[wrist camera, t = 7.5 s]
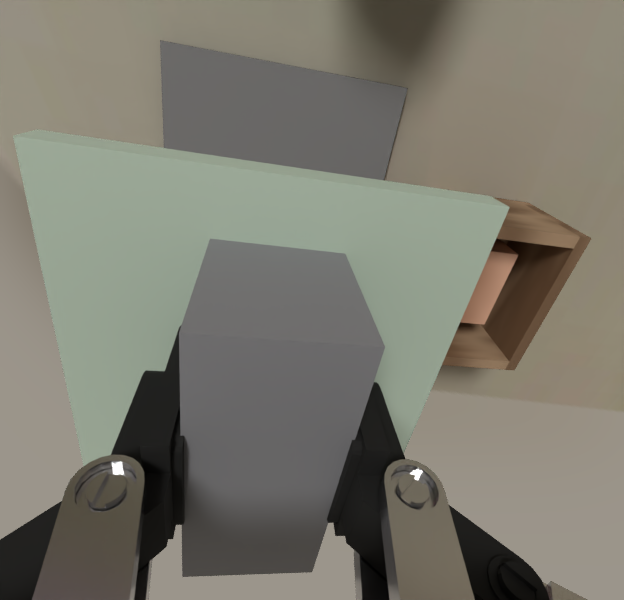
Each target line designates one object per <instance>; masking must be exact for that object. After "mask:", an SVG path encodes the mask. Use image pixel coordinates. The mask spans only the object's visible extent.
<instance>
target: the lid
mask: <svg viewBox="0 0 624 600" xmlns="http://www.w3.org/2000/svg"><path fill="white" fill-rule="evenodd" d="M13 138H14V143H15V147H16V152H17V157H18V161H19V166H20V171H21V175H22V180H23V185H24V189H25V194H26V199H27V203H28V208H29V213H30V217H31V222H32V227H33V231H34V236H35V241H36V245H37V250H38V255H39V259H40V264H41V269H42V273H43V278H44V283H45V287H46V292H47V296H48V301H49V306H50V311H51V315H52V320H53V325H54V329H55V334H56V339H57V343H58V348H59V353H60V357H61V362H62V367H63V371H64V376H65V381H66V385H67V390H68V395H69V399H70V404H71V409H72V413H73V418H74V422H75V427H76V432H77V437H78V441H79V446H80V451H81V455H82V460H83V464H84V466H85V465H86V464H88V463H89V462H91V461H93V460H96V459H98V458H100V457H104V456H108V455H111V453H112V450H113V448H114V445H115V443H116V440H117V438H118V435H119V433H120V430H121V428H122V425H123V422H124V420H125V417H126V415H127V412H128V410H129V407H130V405H131V402H132V400H133V397H134V395H135V392H136V390H137V387H138V385H139V382H140V380H141V377H142V375H143V373H144V372H145V371H146V370H148V371H165V369H166V366H167V363H168V360H169V357H170V354H171V351H172V348H173V345H174V342H175V339H176V335H177V332H178V329H179V327H180V326H181V328H180V331H179V368H180V436H184V498H185V522H184V525H182V567H183V568H182V571H183V577H188V576H215V575H216V576H217V575H245V574H273V573H301V572H312V571H313V567H314V564H315V561H316V558H317V555H318V552H319V549H320V546H321V543H322V540H323V537H324V534H325V531H326V527H327V524H328V521H327V517H328V514H329V511H330V507H331V504H332V501H333V498H334V495H335V492H336V489H337V486H338V482H339V479H340V476H341V473H342V470H343V467H344V464H345V461H346V457H347V454H348V451H349V448H350V445H351V442H352V440H355V438H356V435H357V432H358V429H359V426H360V423H361V420H362V417H363V414H364V411H365V408H366V405H367V402H368V398H369V395H370V392H371V389H372V386H373V383H374V382H377V383H378V384H379V386H380V388H381V391H382V393H383V396H384V399H385V402H386V405H387V408H388V411H389V414H390V416H391V419H392V422H393V425H394V428H395V431H396V434H397V436H398V439H399V442H400V445H401V448H402V451H403V454H404V451H405V449H406V447H407V444H408V442H409V440H410V437H411V435H412V433H413V430H414V428H415V426H416V423H417V421H418V419H419V417H420V414H421V412H422V410H423V407H424V405H425V402H426V400H427V398H428V396H429V393H430V391H431V389H432V386H433V384H434V382H435V379H436V377H437V375H438V372H439V370H440V368H441V366H442V363H443V361H444V359H445V356H446V354H447V352H448V349H449V347H450V345H451V342H452V340H453V338H454V335H455V333H456V331H457V328H458V326H459V324H460V321H461V319H462V317H463V315H464V312H465V310H466V308H467V305H468V303H469V301H470V298H471V296H472V294H473V291H474V289H475V287H476V284H477V282H478V280H479V277H480V275H481V273H482V270H483V268H484V266H485V264H486V261H487V259H488V257H489V254H490V252H491V250H492V247H493V245H494V243H495V240H496V238H497V236H498V233H499V231H500V229H501V226H502V224H503V222H504V219H505V217H506V215H507V212H508V210H509V208H510V207H509V206H507V205H505V204H503V203H502V202H500V201H498V200H496V199H495V198H493V197H491V196H486V195H479V194H472V193H465V192H459V191H452V190H445V189H438V188H431V187H425V186H418V185H411V184H404V183H397V182H391V181H384V180H377V179H370V178H364V177H357V176H350V175H343V174H336V173H330V172H323V171H316V170H309V169H302V168H296V167H289V166H282V165H275V164H269V163H262V162H255V161H248V160H241V159H235V158H228V157H221V156H214V155H207V154H201V153H194V152H187V151H180V150H174V149H167V148H160V147H153V146H146V145H140V144H133V143H126V142H119V141H113V140H106V139H99V138H92V137H85V136H79V135H72V134H65V133H58V132H51V131H45V130H38V129H37V130H34V131H30V132H26V133H22V134H19V135H15V136H13Z"/></svg>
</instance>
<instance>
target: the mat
mask: <svg viewBox="0 0 624 600" xmlns="http://www.w3.org/2000/svg"><path fill="white" fill-rule="evenodd" d="M160 48H161V77H162V106H163V135H164V148H167V149H174V150H180V151H187V152H194V153H201V154H207V155H214V156H221V157H228V158H235V159H241V160H248V161H255V162H262V163H269V164H275V165H282V166H289V167H296V168H302V169H309V170H316V171H323V172H330V173H336V174H343V175H350V176H357V177H364V178H370V179H377V180H384V177H385V173H386V170H387V166H388V162H389V158H390V154H391V150H392V147H393V143H394V139H395V135H396V131H397V127H398V123H399V120H400V116H401V112H402V108H403V104H404V100H405V96H406V93H407V89H408V88H404V87H399V86H394V85H389V84H384V83H378V82H373V81H368V80H363V79H358V78H353V77H347V76H342V75H337V74H332V73H327V72H322V71H316V70H311V69H306V68H301V67H296V66H290V65H285V64H280V63H275V62H270V61H265V60H259V59H254V58H249V57H244V56H239V55H233V54H228V53H223V52H218V51H213V50H208V49H202V48H197V47H192V46H187V45H182V44H177V43H171V42H166V41H161V40H160Z"/></svg>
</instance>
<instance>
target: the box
mask: <svg viewBox="0 0 624 600" xmlns="http://www.w3.org/2000/svg"><path fill="white" fill-rule="evenodd" d="M495 199H496V200H498V201H500V202H502V203H503V204H505V205H507V206H509V207H510V208H509V210H508V212H507V215H506V217H505V219H504V222H503V224H502V226H501V229H500V231H499V233H498V236H497V238H496V240H495V243H494V245H493V247H492V250H491V252H490V254H489V257H488V259H487V261H486V264H485V266H484V268H483V270H482V273H481V275H480V277H479V280H478V282H477V284H476V287H475V289H474V291H473V294H472V296H471V298H470V301H469V303H468V305H467V308H466V310H465V312H464V315H463V317H462V319H461V321H460V324H459V326H458V328H457V331H456V333H455V335H454V338H453V340H452V342H451V345H450V347H449V349H448V352H447V354H446V356H445V359H444V361H443V363H442V365H450V366H463V367H477V368H490V369H504V370H515V368H516V367H517V365H518V363H519V361H520V360H521V358H522V356H523V355H524V353H525V351H526V349H527V348H528V346H529V344H530V343H531V341H532V339H533V337H534V336H535V334H536V332H537V331H538V329H539V327H540V325H541V324H542V322H543V320H544V319H545V317H546V315H547V314H548V312H549V310H550V308H551V307H552V305H553V303H554V302H555V300H556V298H557V296H558V295H559V293H560V291H561V290H562V288H563V286H564V284H565V283H566V281H567V279H568V278H569V276H570V274H571V273H572V271H573V269H574V267H575V266H576V264H577V262H578V261H579V259H580V257H581V255H582V254H583V252H584V250H585V249H586V247H587V245H588V243H589V242H590V240H591V238H590V237H588V236H586V235H584V234H583V233H581V232H579V231H577V230H576V229H574V228H572V227H570V226H568V225H567V224H565V223H563V222H561V221H560V220H558V219H556V218H554V217H553V216H551V215H549V214H547V213H546V212H544V211H542V210H540V209H538V208H537V207H535V206H533V205H531V204H530V203H526V202H520V201H513V200H507V199H500V198H495Z"/></svg>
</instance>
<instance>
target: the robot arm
mask: <svg viewBox="0 0 624 600" xmlns="http://www.w3.org/2000/svg"><path fill="white" fill-rule="evenodd" d="M180 328H181V326H180V327H179V329H178V332H177V335H176V339H175V342H174V345H173V348H172V351H171V354H170V357H169V360H168V363H167V366H166V369H165V371H148V370H146V371H145V372H144V373H143V375H142V377H141V380H140V382H139V385H138V387H137V390H136V392H135V395H134V397H133V400H132V402H131V405H130V407H129V410H128V412H127V415H126V417H125V420H124V422H123V425H122V428H121V430H120V433H119V435H118V438H117V440H116V443H115V445H114V448H113V450H112V453H111V455H108V456H104V457H100V458H98V459H96V460H93V461H91V462H89V463H88V464H86V465H85V466H84V467H82V468H81V469H79V470H78V471H77V473H76V474H75V475H74V476H73V477H72V478H71V479H70V482H69V484H68V486H67V488H66V490H65V493H64V496H63V499H62V501H61V502H60V503H58V504H56V505H55V506H53V507H51V508H50V509H48V510H47V511H45V512H44V513H42V514H40V515H39V516H37V517H36V518H34V519H33V520H31V521H29V522H28V523H26V524H24V525H23V526H21V527H20V528H18V529H17V530H15V531H14V532H12V533H10V534H9V535H7V536H5V537H4V538H2V539H1V540H0V600H148V599H149V589H150V578H151V567H152V559H153V558H154V557H155V556H156V555H157V554H159V552H161V551H162V550H163V549H164V548H165V547H166V546H167V542H168V539H173V536H174V531H175V526H176V525H179V524H180V525H184V522H185V498H184V436H180V368H179V331H180ZM327 521H328V523H332V522H333V523H334V529H335V535H336V536H345V537H346V543H347V544H348V545H350V546H351V547H352V548H353V549H354V567H355V585H356V586H355V587H356V600H587V599H585V598H583V597H581V596H579V595H577V594H575V593H573V592H571V591H569V590H568V589H565V588H564V587H562V586H560V585H558V584H556V583H554V582H552V581H551V582H550V583H549V584H548V585H547V584H545V583H543V582H542V580H541V579H540V577H539V576H538V575H537V574H536V572H535V571H534V570H533V568H531V566H529V565H528V564H527V563H526V562H525V561H524V560H523V559H521V558H520V557H519V556H517V555H516V554H515V553H513V552H512V551H510V550H509V549H508V548H507V547H505V546H504V545H502V544H501V543H500V542H498V541H497V540H496V539H494V538H493V537H492V536H490V535H489V534H487V533H486V532H485V531H483V530H482V529H481V528H479V527H478V526H477V525H475V524H474V523H473V522H471V521H470V520H468V519H467V518H466V517H464V516H463V515H462V514H460V513H459V512H458V511H456V510H455V509H454V508H452V507H451V506H450V505H449V504H448V501H447V497H446V493H445V490H444V488H443V485H442V483H441V482H440V480H439V479H438V477H437V476H436V475H435V473H434V472H432V471H431V470H430V469H429V468H428V467H426V466H424V465H423V464H421V463H419V462H416V461H413V460H409V459H405V457H404V454H403V451H402V448H401V445H400V442H399V439H398V436H397V434H396V431H395V428H394V425H393V422H392V419H391V416H390V414H389V411H388V408H387V405H386V402H385V399H384V396H383V393H382V391H381V388H380V386H379V384H378V383H377V382H374V383H373V386H372V389H371V392H370V395H369V398H368V402H367V405H366V408H365V411H364V414H363V417H362V420H361V423H360V426H359V429H358V432H357V435H356V438H355V440H352V442H351V445H350V448H349V451H348V454H347V457H346V461H345V464H344V467H343V470H342V473H341V476H340V479H339V482H338V486H337V489H336V492H335V495H334V498H333V501H332V504H331V507H330V511H329V514H328V517H327Z"/></svg>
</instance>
